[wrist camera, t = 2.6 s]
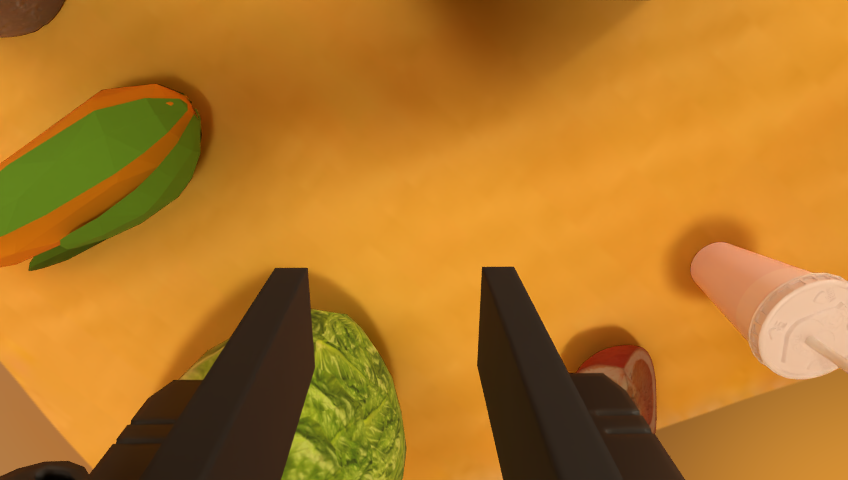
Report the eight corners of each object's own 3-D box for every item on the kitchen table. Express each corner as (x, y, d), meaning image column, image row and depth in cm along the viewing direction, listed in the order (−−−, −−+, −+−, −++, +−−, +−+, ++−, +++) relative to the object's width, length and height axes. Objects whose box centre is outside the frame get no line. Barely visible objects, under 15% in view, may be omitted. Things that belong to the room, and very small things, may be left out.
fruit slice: (654, 404, 41) (686, 448, 36) (574, 426, 41) (596, 472, 37) (637, 317, 38) (670, 353, 33) (552, 342, 39) (572, 381, 34)
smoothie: (654, 273, 37) (790, 390, 24) (719, 206, 35) (906, 292, 22) (711, 319, 38) (870, 454, 25) (777, 257, 37) (983, 366, 24)
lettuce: (-6, 420, 33) (37, 659, 30) (269, 291, 26) (360, 585, 23) (171, 379, 46) (212, 542, 43) (384, 286, 39) (451, 473, 36)
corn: (203, 177, 26) (-77, 351, 29) (253, 159, 33) (25, 299, 36) (110, 44, 24) (-180, 243, 27) (184, 56, 31) (-50, 211, 34)
